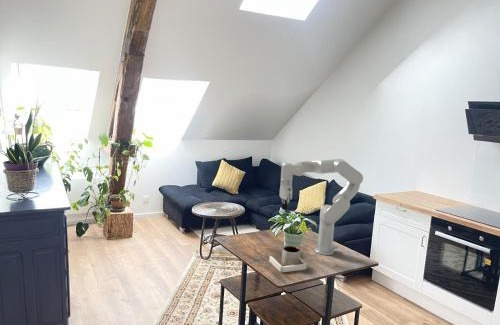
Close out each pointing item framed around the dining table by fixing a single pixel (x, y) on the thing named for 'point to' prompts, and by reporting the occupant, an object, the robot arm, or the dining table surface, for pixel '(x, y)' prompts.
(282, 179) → the robot arm
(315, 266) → the dining table surface
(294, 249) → the planter
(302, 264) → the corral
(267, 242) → the dining table surface
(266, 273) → the dining table surface
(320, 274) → the dining table surface
